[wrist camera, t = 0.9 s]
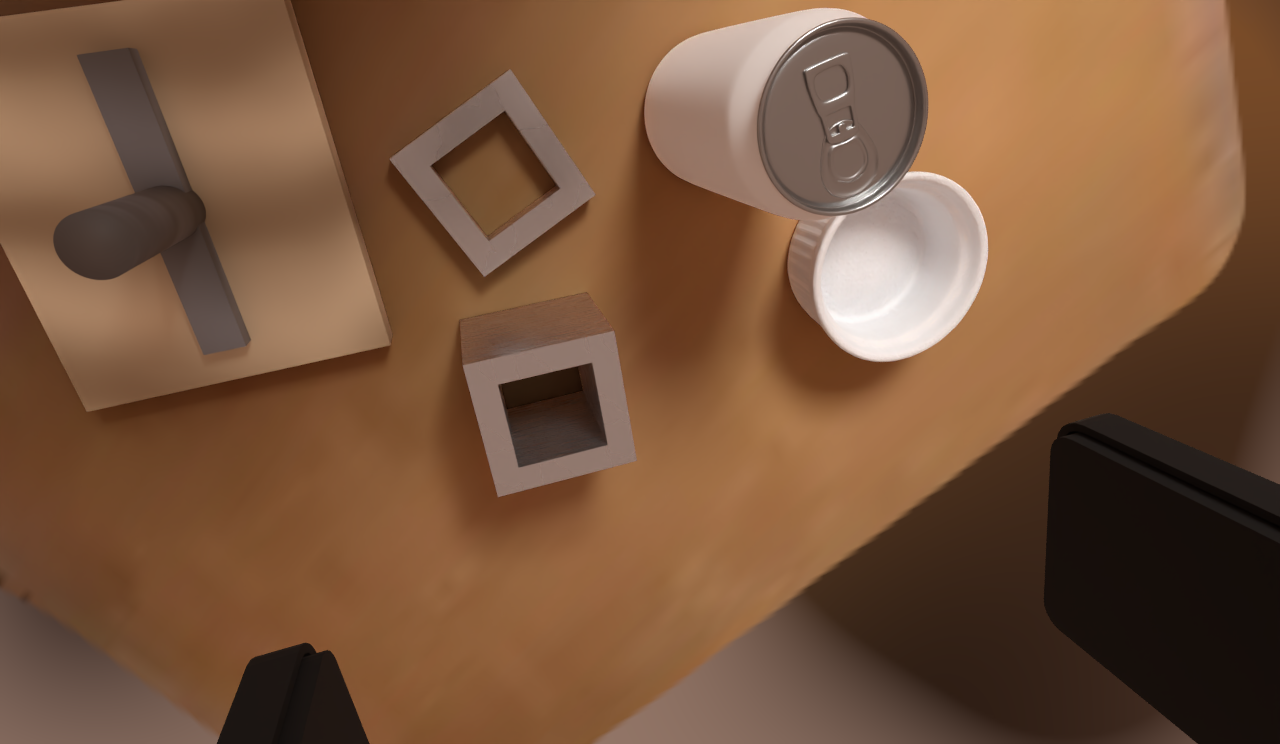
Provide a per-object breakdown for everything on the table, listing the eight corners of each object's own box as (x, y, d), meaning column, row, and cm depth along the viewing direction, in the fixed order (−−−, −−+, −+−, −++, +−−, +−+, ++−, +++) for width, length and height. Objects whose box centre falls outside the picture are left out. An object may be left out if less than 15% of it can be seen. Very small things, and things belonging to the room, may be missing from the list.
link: (459, 319, 33) (462, 365, 27) (586, 292, 34) (614, 331, 28) (489, 434, 35) (498, 497, 30) (607, 405, 36) (636, 460, 31)
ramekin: (818, 366, 39) (860, 397, 35) (745, 229, 35) (783, 246, 31) (954, 273, 39) (1011, 294, 35) (896, 126, 35) (953, 131, 31)
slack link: (391, 156, 30) (389, 159, 29) (507, 70, 30) (510, 69, 28) (483, 270, 32) (484, 276, 31) (590, 191, 32) (595, 194, 31)
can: (669, 207, 33) (778, 263, 22) (619, 65, 31) (715, 51, 20) (793, 152, 34) (957, 181, 23) (754, 8, 31) (920, -36, 20)
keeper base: (-79, 34, 25) (-315, 8, 17) (286, -15, 27) (222, -57, 19) (102, 397, 30) (-14, 502, 22) (392, 334, 32) (376, 410, 25)
